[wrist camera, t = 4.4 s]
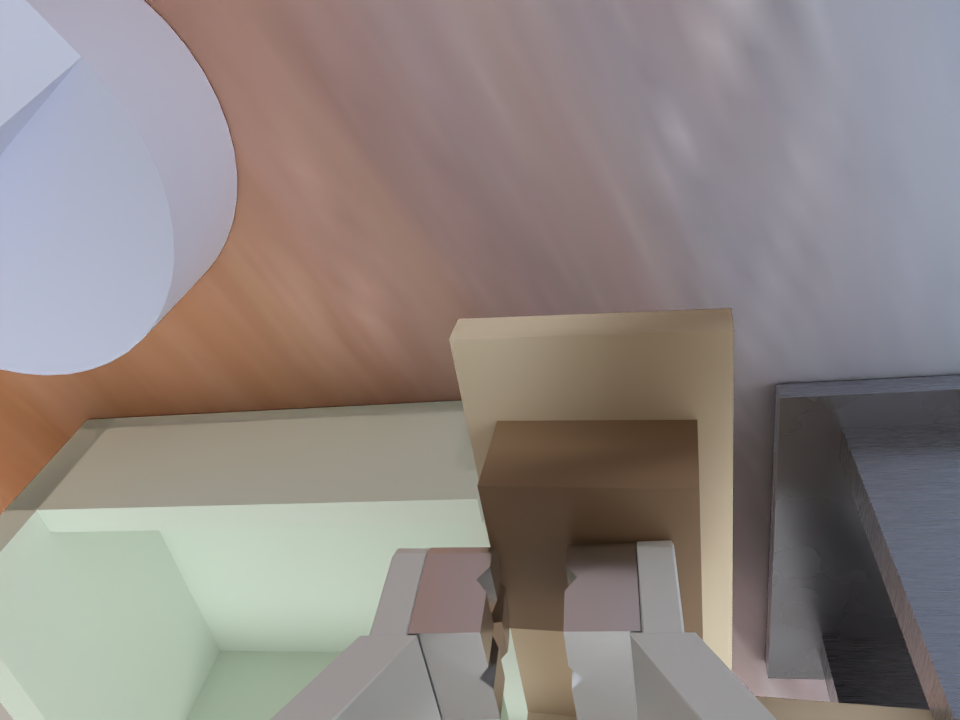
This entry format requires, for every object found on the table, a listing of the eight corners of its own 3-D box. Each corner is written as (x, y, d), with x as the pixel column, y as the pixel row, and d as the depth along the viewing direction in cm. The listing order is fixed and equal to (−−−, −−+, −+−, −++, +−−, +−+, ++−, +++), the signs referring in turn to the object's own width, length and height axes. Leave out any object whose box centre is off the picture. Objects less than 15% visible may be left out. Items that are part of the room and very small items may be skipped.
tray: (498, 398, 22) (455, 602, 16) (545, 658, 27) (527, 877, 22) (87, 419, 24) (-78, 600, 19) (208, 652, 30) (111, 847, 24)
